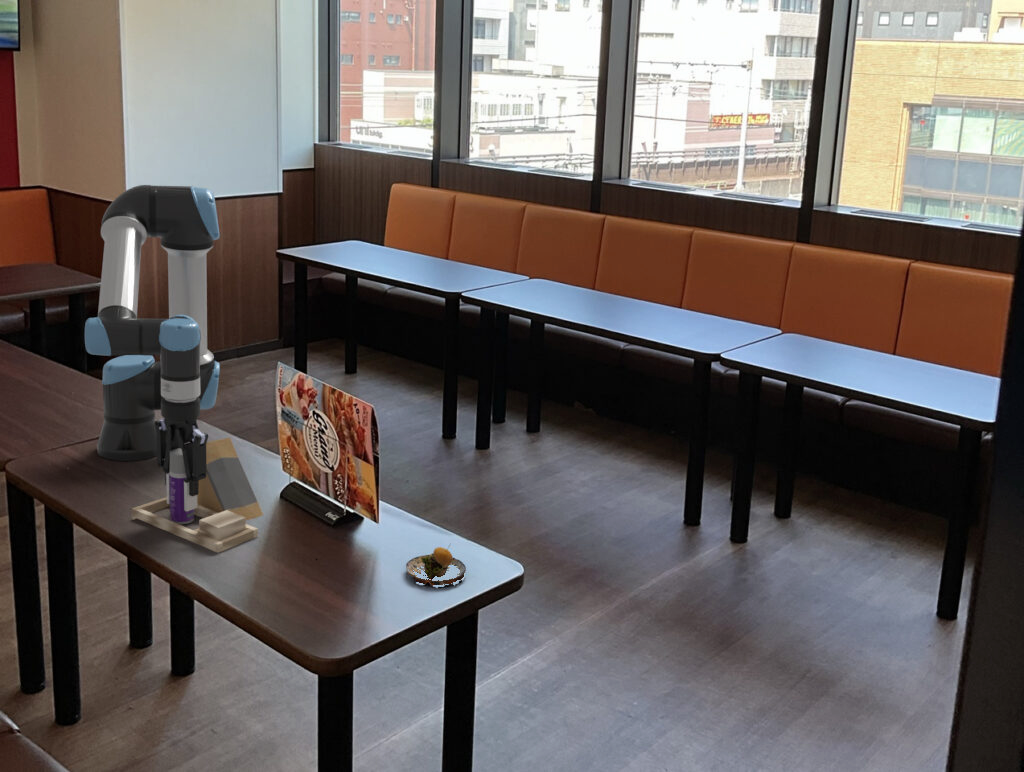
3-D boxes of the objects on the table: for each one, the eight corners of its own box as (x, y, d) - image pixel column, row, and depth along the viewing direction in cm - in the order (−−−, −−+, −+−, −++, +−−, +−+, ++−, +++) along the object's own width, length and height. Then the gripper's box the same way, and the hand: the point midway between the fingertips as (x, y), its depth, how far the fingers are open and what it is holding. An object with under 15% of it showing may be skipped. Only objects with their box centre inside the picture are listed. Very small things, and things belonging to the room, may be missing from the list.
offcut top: (199, 529, 213) (199, 519, 213) (226, 519, 219) (226, 510, 218) (218, 537, 210) (218, 527, 210) (245, 526, 216) (245, 517, 216)
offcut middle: (199, 538, 214) (199, 529, 213) (226, 528, 220) (226, 519, 219) (218, 546, 211) (218, 537, 210) (245, 536, 217) (245, 526, 216)
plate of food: (434, 556, 218) (436, 522, 216) (478, 576, 211) (480, 541, 209) (391, 574, 209) (393, 539, 207) (436, 595, 202) (438, 559, 200)
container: (165, 521, 221) (164, 452, 216) (180, 513, 225) (179, 445, 221) (184, 526, 219) (183, 457, 215) (198, 518, 223) (198, 450, 219)
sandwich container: (233, 533, 221) (233, 464, 217) (194, 509, 232) (194, 443, 227) (269, 523, 227) (269, 456, 223) (230, 500, 238) (230, 436, 233)
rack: (132, 521, 223) (131, 508, 222) (173, 507, 231) (172, 494, 230) (218, 558, 209) (217, 544, 208) (258, 542, 218) (258, 528, 217)
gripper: (135, 391, 216) (138, 498, 223) (195, 411, 207) (196, 523, 214) (166, 383, 222) (168, 488, 229) (225, 403, 213) (225, 512, 220)
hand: (182, 505), depth 221 cm, fingers closed on container, 5 cm apart
